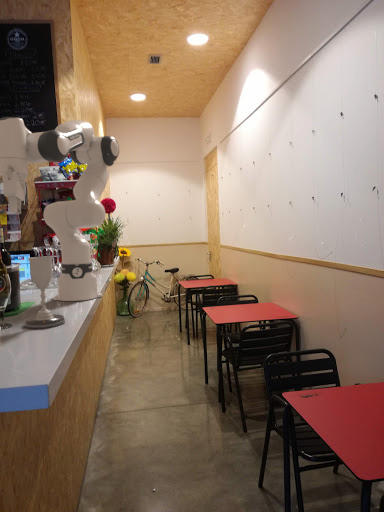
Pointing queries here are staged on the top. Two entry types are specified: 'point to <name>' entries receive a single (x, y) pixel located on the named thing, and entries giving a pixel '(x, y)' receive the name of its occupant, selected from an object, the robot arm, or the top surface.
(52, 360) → the top surface
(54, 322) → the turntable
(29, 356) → the top surface
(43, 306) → the chalice
